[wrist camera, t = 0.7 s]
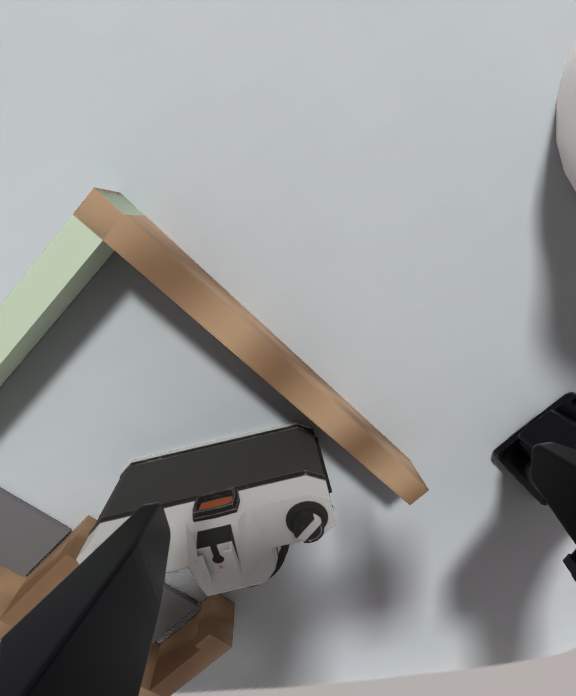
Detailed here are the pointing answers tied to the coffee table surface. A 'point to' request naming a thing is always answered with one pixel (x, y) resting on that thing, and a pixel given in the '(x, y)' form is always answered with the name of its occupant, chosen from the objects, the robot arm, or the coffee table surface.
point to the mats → (43, 535)
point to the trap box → (268, 362)
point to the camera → (229, 504)
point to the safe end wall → (52, 285)
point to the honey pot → (567, 118)
